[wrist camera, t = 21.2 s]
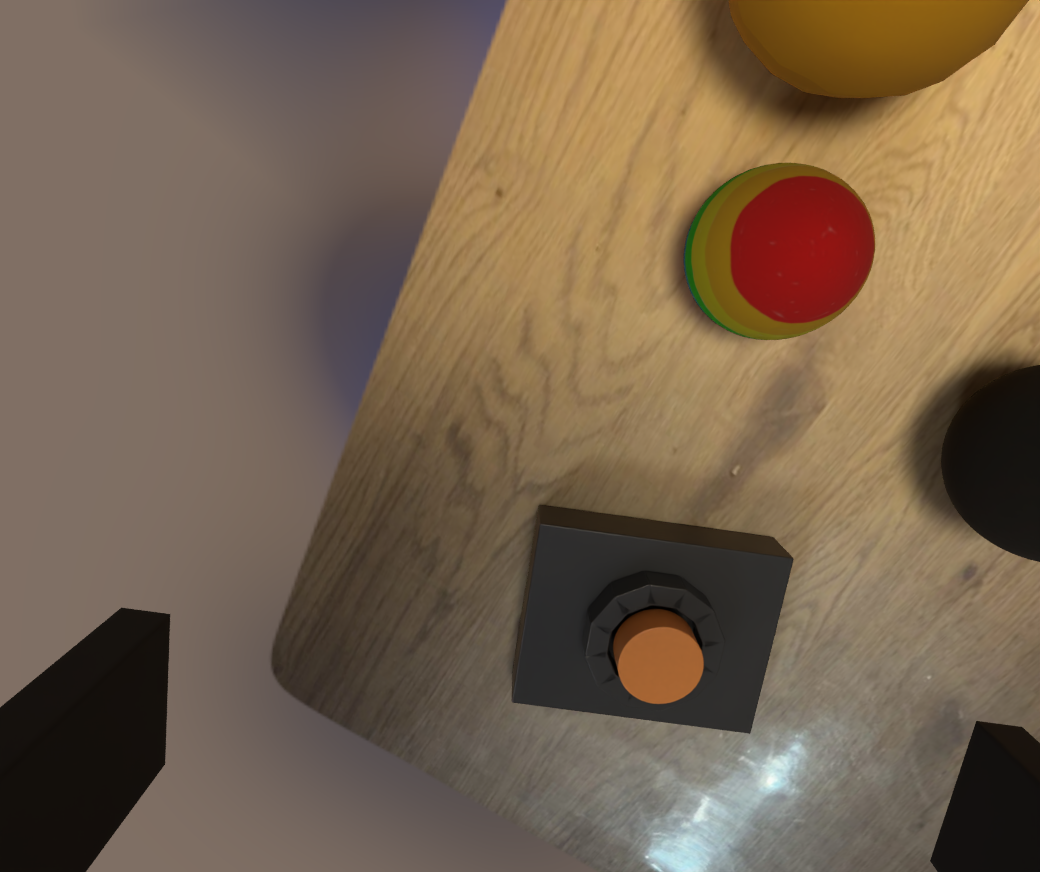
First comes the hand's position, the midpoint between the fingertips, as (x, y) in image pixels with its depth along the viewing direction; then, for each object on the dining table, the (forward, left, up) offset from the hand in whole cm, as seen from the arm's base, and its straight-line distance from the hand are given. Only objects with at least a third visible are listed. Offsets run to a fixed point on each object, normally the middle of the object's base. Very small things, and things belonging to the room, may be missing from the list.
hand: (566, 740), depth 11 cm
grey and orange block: (+8, -11, -29) cm, 32 cm away
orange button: (+8, -11, -24) cm, 28 cm away
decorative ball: (+26, +2, -29) cm, 39 cm away
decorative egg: (+10, +10, -29) cm, 32 cm away
